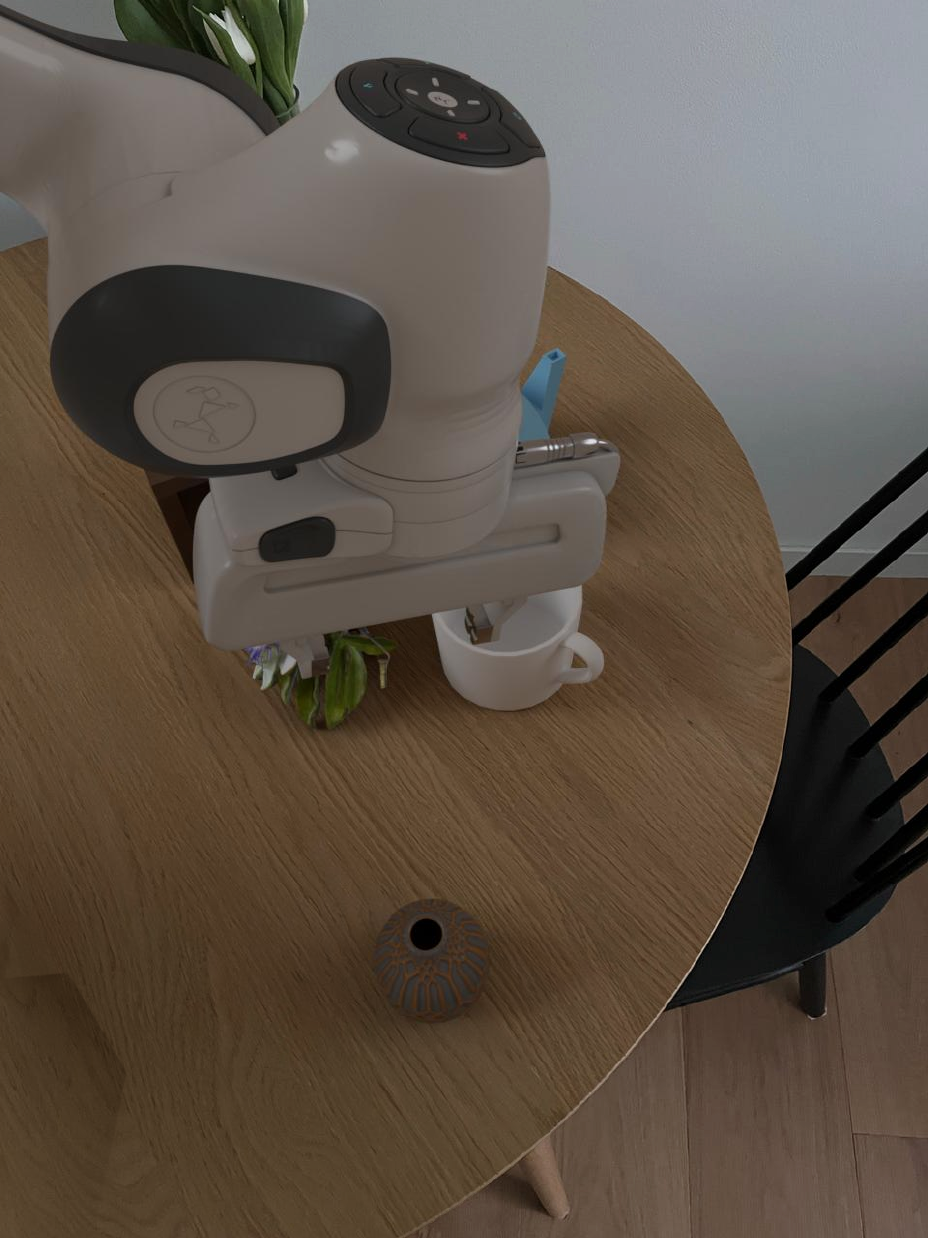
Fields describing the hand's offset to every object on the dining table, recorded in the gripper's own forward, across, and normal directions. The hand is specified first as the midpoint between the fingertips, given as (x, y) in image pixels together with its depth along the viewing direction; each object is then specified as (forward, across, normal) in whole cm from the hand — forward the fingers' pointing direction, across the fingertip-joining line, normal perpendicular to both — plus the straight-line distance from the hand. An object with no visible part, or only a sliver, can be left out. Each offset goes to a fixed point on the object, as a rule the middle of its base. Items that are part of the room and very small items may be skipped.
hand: (398, 650), depth 57 cm
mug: (+17, -13, -9) cm, 23 cm away
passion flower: (+19, +1, -14) cm, 23 cm away
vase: (+20, 0, +11) cm, 23 cm away
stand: (+18, +4, -31) cm, 36 cm away
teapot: (+16, -14, -27) cm, 34 cm away
